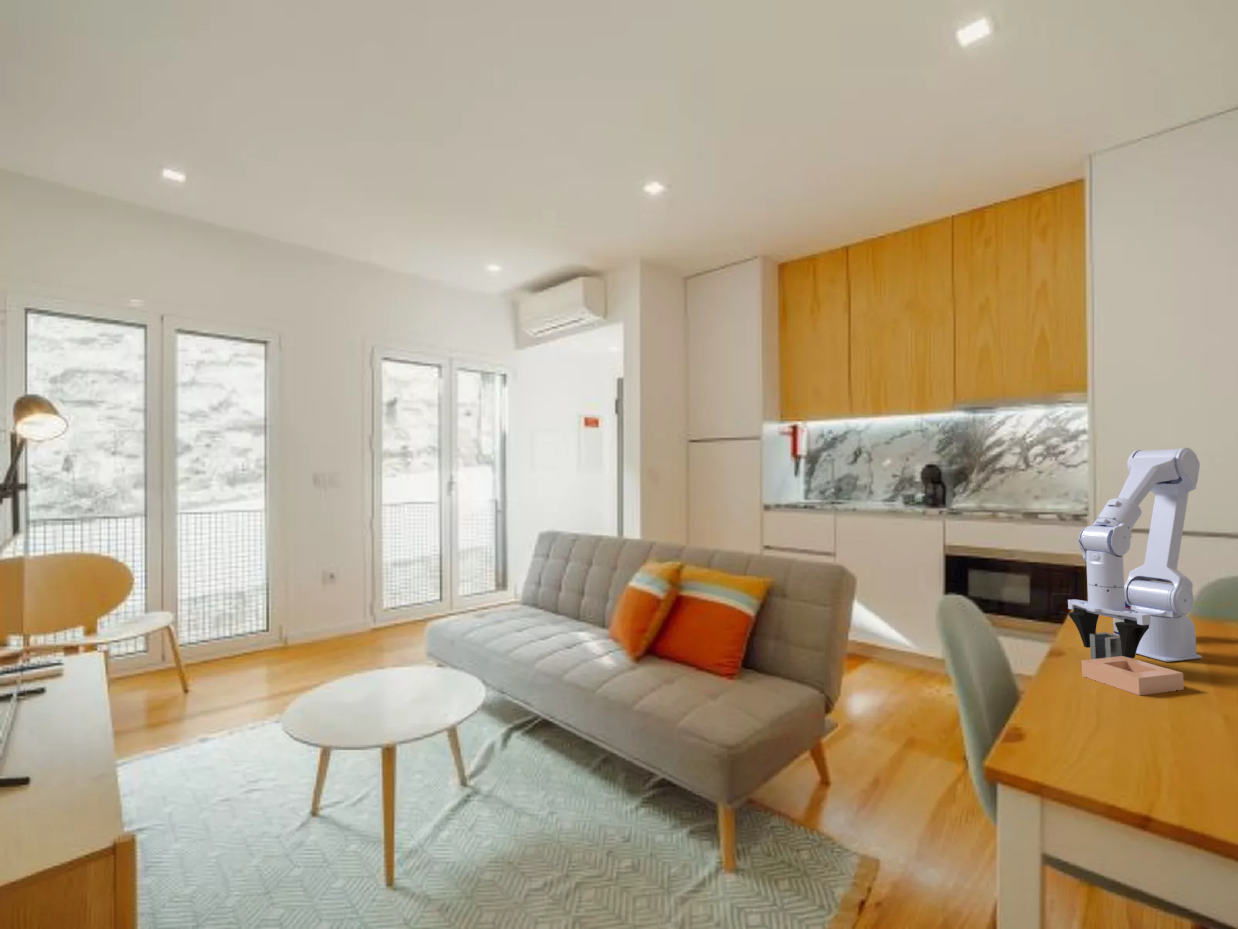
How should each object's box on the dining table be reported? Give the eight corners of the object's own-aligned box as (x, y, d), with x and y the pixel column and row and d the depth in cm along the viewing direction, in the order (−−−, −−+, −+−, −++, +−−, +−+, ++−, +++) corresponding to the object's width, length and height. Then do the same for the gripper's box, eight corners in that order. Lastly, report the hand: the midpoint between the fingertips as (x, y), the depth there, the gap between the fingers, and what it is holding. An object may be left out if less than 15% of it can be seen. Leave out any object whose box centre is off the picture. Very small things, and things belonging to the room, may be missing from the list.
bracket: (1106, 661, 116) (1105, 632, 116) (1127, 667, 112) (1126, 637, 113) (1091, 662, 116) (1089, 633, 116) (1111, 669, 112) (1110, 638, 112)
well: (1123, 671, 110) (1123, 655, 110) (1183, 689, 101) (1183, 672, 101) (1082, 676, 108) (1081, 660, 108) (1139, 695, 99) (1138, 678, 99)
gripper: (1055, 580, 121) (1057, 643, 120) (1128, 593, 106) (1131, 665, 106) (1082, 578, 122) (1084, 641, 122) (1157, 590, 108) (1161, 662, 107)
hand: (1108, 652), depth 114 cm, fingers open, 7 cm apart
